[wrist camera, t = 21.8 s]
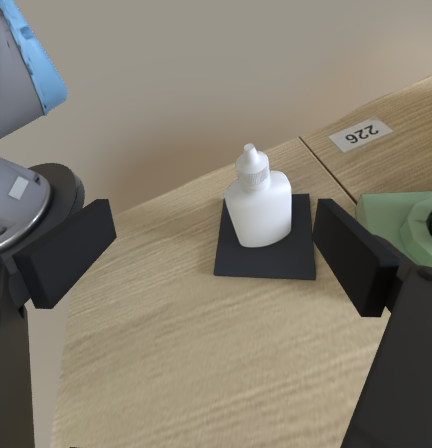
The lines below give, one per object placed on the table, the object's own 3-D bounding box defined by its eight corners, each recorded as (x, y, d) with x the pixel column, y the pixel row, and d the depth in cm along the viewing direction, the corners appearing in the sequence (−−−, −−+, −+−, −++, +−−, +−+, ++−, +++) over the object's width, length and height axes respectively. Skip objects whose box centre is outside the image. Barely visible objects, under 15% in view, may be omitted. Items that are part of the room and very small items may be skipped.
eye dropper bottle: (243, 213, 28) (219, 126, 18) (293, 219, 26) (296, 125, 16) (233, 246, 26) (201, 168, 17) (286, 255, 24) (285, 173, 15)
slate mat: (214, 275, 26) (213, 273, 25) (225, 200, 31) (224, 197, 30) (315, 280, 23) (316, 278, 23) (308, 196, 28) (309, 193, 28)
